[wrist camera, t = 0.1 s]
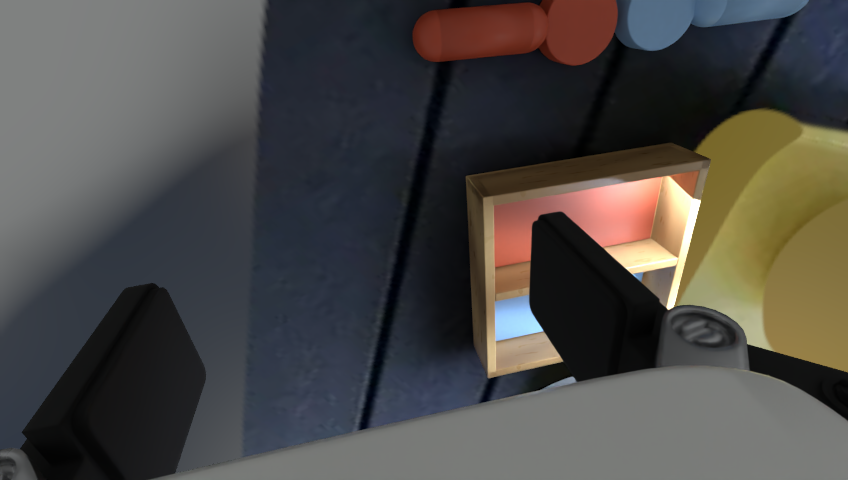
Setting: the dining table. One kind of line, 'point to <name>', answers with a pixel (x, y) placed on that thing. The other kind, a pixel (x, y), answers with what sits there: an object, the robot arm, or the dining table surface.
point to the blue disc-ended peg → (689, 17)
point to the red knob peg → (518, 30)
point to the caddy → (595, 214)
